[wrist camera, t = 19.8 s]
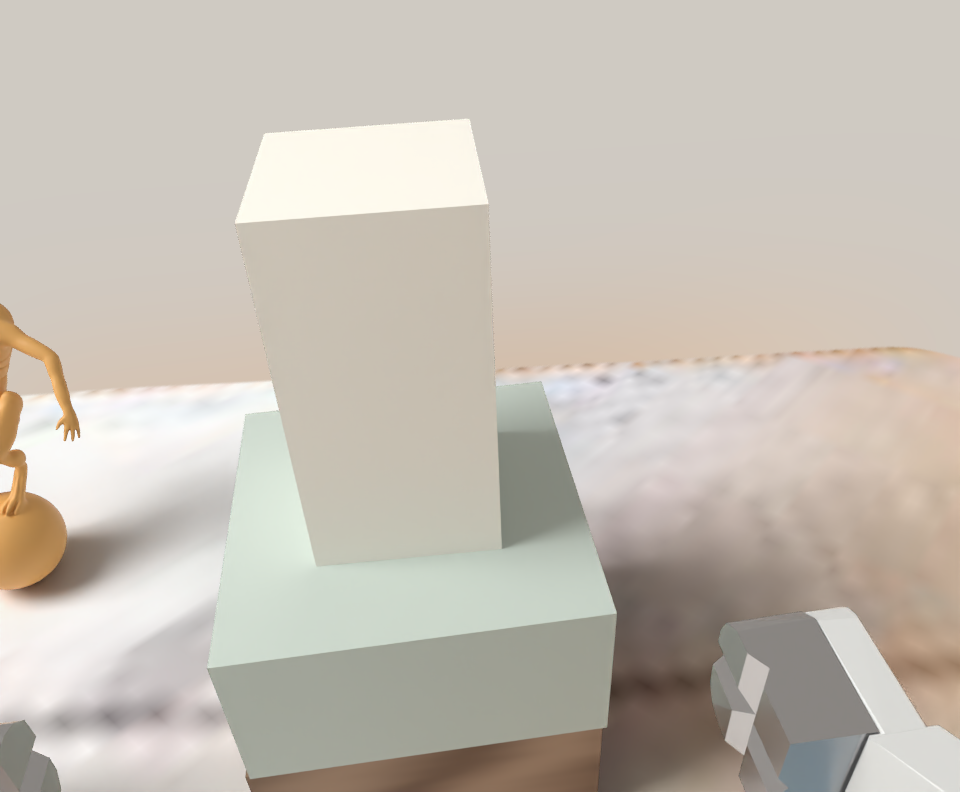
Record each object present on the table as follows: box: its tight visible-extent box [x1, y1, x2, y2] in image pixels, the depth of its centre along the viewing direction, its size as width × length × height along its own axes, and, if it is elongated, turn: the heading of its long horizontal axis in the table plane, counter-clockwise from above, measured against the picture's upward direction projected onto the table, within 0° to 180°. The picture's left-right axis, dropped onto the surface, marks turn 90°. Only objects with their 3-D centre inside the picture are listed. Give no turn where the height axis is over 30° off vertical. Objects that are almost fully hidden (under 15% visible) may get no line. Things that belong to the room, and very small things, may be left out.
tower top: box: [207, 382, 617, 779], centre depth 26 cm, size 10×10×5 cm
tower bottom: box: [246, 728, 602, 792], centre depth 29 cm, size 10×10×5 cm
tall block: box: [235, 119, 502, 566], centre depth 22 cm, size 5×5×10 cm
